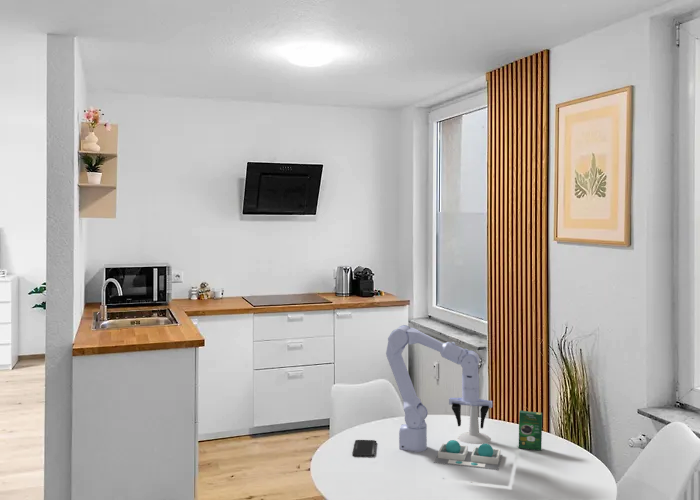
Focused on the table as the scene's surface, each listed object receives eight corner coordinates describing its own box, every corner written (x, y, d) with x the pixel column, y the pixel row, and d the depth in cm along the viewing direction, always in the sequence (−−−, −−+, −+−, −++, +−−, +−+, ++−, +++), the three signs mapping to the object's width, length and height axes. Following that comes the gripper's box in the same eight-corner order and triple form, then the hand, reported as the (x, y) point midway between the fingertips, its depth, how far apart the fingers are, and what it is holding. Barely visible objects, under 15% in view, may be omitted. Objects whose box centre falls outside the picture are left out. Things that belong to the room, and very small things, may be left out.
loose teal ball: (476, 460, 209) (476, 445, 208) (479, 455, 213) (479, 440, 213) (492, 462, 207) (491, 447, 206) (494, 457, 211) (494, 442, 211)
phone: (376, 440, 230) (374, 454, 215) (376, 443, 230) (374, 458, 215) (355, 439, 231) (351, 454, 216) (355, 442, 231) (351, 457, 216)
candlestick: (496, 439, 232) (496, 358, 231) (484, 449, 221) (484, 365, 220) (464, 433, 239) (464, 355, 238) (451, 443, 228) (450, 361, 227)
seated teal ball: (444, 456, 212) (444, 442, 212) (447, 451, 217) (447, 437, 217) (459, 458, 210) (459, 443, 210) (461, 453, 215) (461, 438, 215)
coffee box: (542, 448, 222) (542, 411, 221) (542, 451, 219) (542, 414, 219) (518, 446, 224) (518, 409, 224) (518, 448, 222) (518, 412, 221)
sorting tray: (433, 465, 207) (433, 456, 207) (441, 451, 220) (441, 442, 220) (498, 473, 200) (498, 463, 200) (502, 457, 213) (502, 449, 213)
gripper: (447, 388, 212) (447, 428, 213) (490, 391, 208) (490, 432, 208) (450, 383, 219) (451, 421, 220) (493, 386, 214) (493, 425, 215)
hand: (470, 426), depth 214 cm, fingers open, 7 cm apart
